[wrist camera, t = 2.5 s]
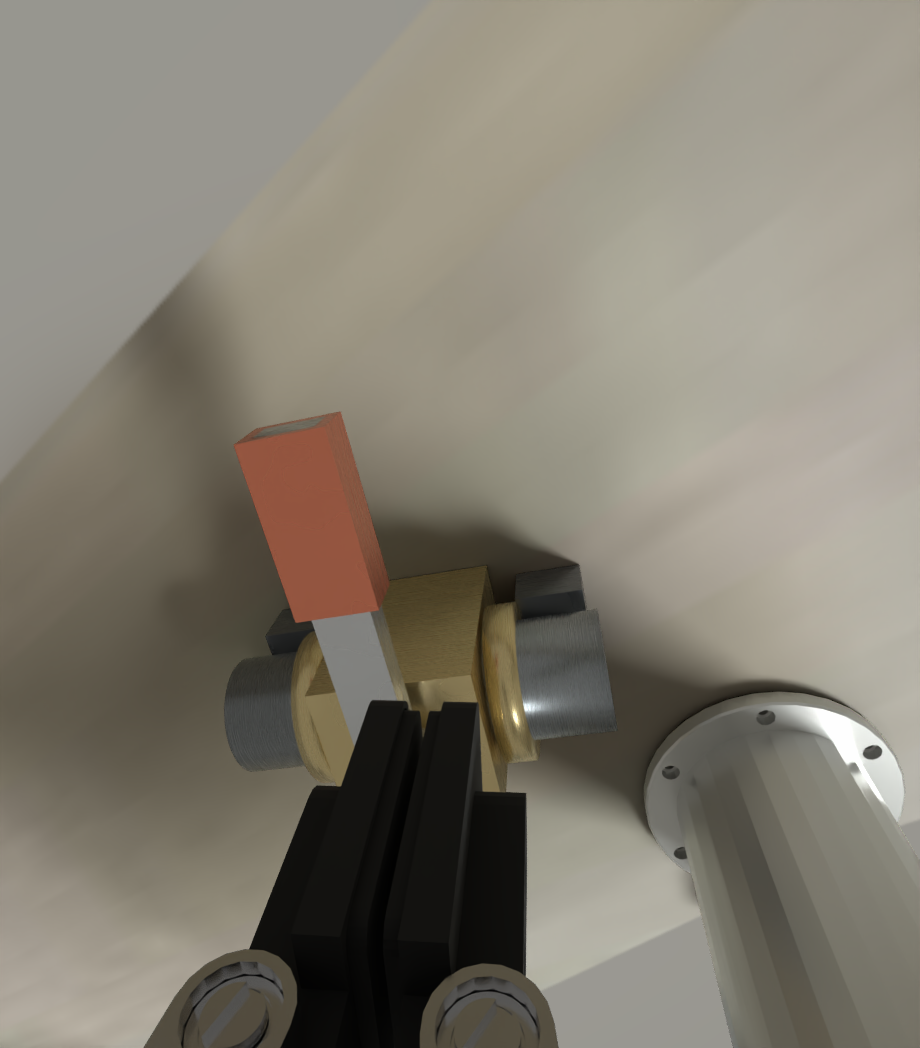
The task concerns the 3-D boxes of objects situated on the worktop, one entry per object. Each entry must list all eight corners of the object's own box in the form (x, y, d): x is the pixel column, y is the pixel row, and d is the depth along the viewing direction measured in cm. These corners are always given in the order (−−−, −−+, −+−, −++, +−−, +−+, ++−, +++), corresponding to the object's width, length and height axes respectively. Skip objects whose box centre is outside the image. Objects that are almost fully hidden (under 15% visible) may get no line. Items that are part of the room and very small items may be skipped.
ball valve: (607, 666, 35) (629, 801, 27) (306, 704, 38) (243, 837, 30) (587, 547, 33) (604, 654, 25) (268, 597, 36) (187, 709, 27)
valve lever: (461, 794, 27) (454, 844, 25) (372, 803, 28) (358, 852, 26) (353, 408, 22) (332, 428, 19) (245, 430, 22) (213, 452, 20)
